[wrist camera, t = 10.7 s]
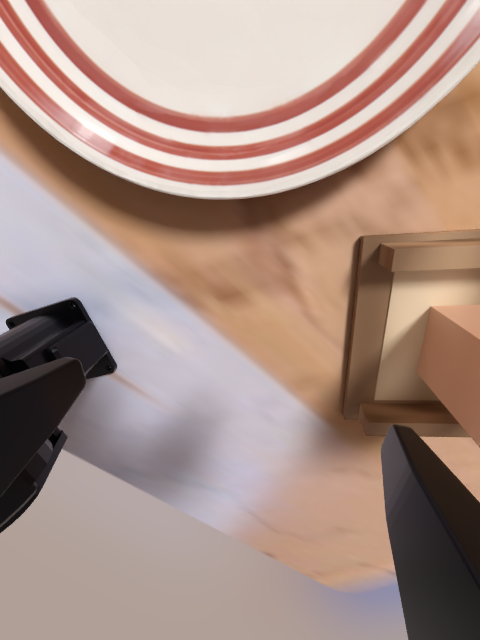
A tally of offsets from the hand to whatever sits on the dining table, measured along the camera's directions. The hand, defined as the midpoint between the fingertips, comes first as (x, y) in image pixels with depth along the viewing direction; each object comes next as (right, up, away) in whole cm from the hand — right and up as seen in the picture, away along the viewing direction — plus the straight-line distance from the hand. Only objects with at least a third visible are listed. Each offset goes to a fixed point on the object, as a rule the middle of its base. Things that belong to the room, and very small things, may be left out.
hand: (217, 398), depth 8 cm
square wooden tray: (+16, +1, +11) cm, 19 cm away
